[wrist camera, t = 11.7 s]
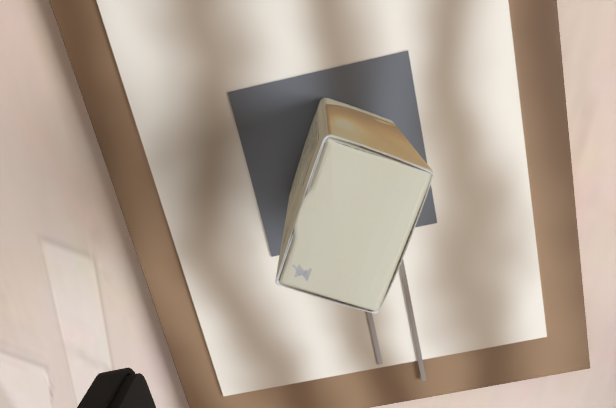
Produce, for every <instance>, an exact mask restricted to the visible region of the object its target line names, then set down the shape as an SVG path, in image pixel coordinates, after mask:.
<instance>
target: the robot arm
mask: <svg viewBox="0 0 616 408" xmlns="http://www.w3.org/2000/svg"><path fill="white" fill-rule="evenodd" d="M77 408H156V406H155V404H154V401H153V398H152V396H151V393H150V390H149V388H148V385H147V382H146V380H145V378H144V376H143V375H142V374H140V373H139V374H135V372H134V371H133V370H132V369H131V368H124V369H119V370H114V371H108V372H103V373H100V374H98V375H97V377H96V378H95V380H94V381H93V383H92V385H91V386H90V388H89V389H88V391H87V393H86V394H85V396H84V397H83V399H82V401H81V402H80V404H79V406H78V407H77Z"/></svg>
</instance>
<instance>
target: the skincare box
mask: <svg viewBox="0 0 616 408" xmlns="http://www.w3.org/2000/svg"><path fill="white" fill-rule="evenodd" d="M433 177H434V172H433V171H432V169H431V168H430V167H429V166H428V164H427V163H426V162H425V161H424V159H423V158H422V157H421V156H420V155H419V153H418V152H417V151H416V150H415V148H414V147H413V146H412V145H411V143H410V142H409V141H408V140H407V138H406V137H405V136H404V135H403V134H402V133H401V131H400V130H399V129H398V127H397V126H396V125H395V124H394V123H393V121H391V120H389V119H386V118H384V117H381V116H378V115H376V114H373V113H370V112H367V111H365V110H362V109H359V108H356V107H353V106H351V105H348V104H345V103H341V102H338V101H335V100H332V99H329V98H322V99H321V100H320V102H319V105H318V108H317V111H316V113H315V116H314V119H313V122H312V124H311V127H310V130H309V133H308V136H307V139H306V142H305V145H304V148H303V151H302V155H301V158H300V161H299V164H298V167H297V171H296V174H295V177H294V181H293V184H292V188H291V191H290V195H289V202H288V207H287V214H286V220H285V226H284V232H283V238H282V243H281V249H280V255H279V261H278V267H277V274H276V280H275V283H276V284H277V285H279V286H282V287H285V288H289V289H292V290H295V291H298V292H301V293H305V294H308V295H310V296H313V297H317V298H320V299H323V300H327V301H330V302H333V303H336V304H340V305H343V306H346V307H350V308H354V309H358V310H363V311H366V312H369V313H374V314H377V313H378V312H379V311H380V310H381V307H382V305H383V303H384V301H385V299H386V297H387V295H388V293H389V290H390V288H391V286H392V284H393V282H394V279H395V277H396V274H397V272H398V270H399V267H400V265H401V262H402V260H403V257H404V255H405V252H406V250H407V247H408V245H409V242H410V239H411V237H412V234H413V232H414V229H415V227H416V224H417V221H418V218H419V216H420V213H421V210H422V207H423V204H424V202H425V199H426V196H427V193H428V191H429V188H430V185H431V182H432V179H433Z"/></svg>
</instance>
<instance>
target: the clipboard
mask: <svg viewBox="0 0 616 408" xmlns="http://www.w3.org/2000/svg"><path fill="white" fill-rule="evenodd" d="M50 3H51V6H52V9H53V12H54V15H55V18H56V20H57V23H58V26H59V29H60V32H61V35H62V38H63V41H64V44H65V47H66V50H67V52H68V55H69V58H70V61H71V64H72V67H73V70H74V73H75V76H76V79H77V81H78V84H79V87H80V90H81V93H82V96H83V99H84V102H85V105H86V108H87V110H88V113H89V116H90V119H91V122H92V125H93V128H94V131H95V134H96V137H97V140H98V142H99V145H100V148H101V151H102V154H103V157H104V160H105V163H106V166H107V169H108V171H109V174H110V177H111V180H112V183H113V186H114V189H115V192H116V195H117V198H118V200H119V203H120V206H121V209H122V212H123V215H124V218H125V221H126V224H127V227H128V229H129V232H130V235H131V238H132V241H133V244H134V247H135V250H136V253H137V256H138V259H139V261H140V264H141V267H142V270H143V273H144V276H145V279H146V282H147V285H148V288H149V290H150V293H151V296H152V299H153V302H154V305H155V308H156V311H157V314H158V317H159V319H160V322H161V325H162V328H163V331H164V334H165V337H166V340H167V343H168V346H169V349H170V351H171V354H172V357H173V360H174V363H175V366H176V369H177V372H178V375H179V378H180V380H181V383H182V386H183V389H184V392H185V395H186V398H187V401H188V404H189V407H190V408H370V407H376V406H381V405H387V404H393V403H398V402H404V401H409V400H415V399H421V398H426V397H432V396H437V395H443V394H449V393H454V392H460V391H465V390H471V389H477V388H482V387H488V386H493V385H499V384H505V383H510V382H516V381H521V380H527V379H532V378H538V377H544V376H549V375H555V374H560V373H566V372H572V371H577V370H583V369H588V368H590V362H589V351H588V340H587V329H586V318H585V307H584V296H583V285H582V274H581V263H580V252H579V241H578V230H577V219H576V208H575V197H574V186H573V175H572V164H571V153H570V142H569V131H568V121H567V110H566V99H565V88H564V77H563V66H562V55H561V44H560V33H559V22H558V11H557V0H50ZM322 98H329V99H332V100H335V101H338V102H341V103H345V104H348V105H351V106H353V107H356V108H359V109H362V110H365V111H367V112H370V113H373V114H376V115H378V116H381V117H384V118H386V119H389V120H391V121H393V123H394V124H395V125H396V126H397V127H398V129H399V130H400V131H401V133H402V134H403V135H404V136H405V137H406V138H407V140H408V141H409V142H410V143H411V145H412V146H413V147H414V148H415V150H416V151H417V152H418V153H419V155H420V156H421V157H422V158H423V159H424V161H425V162H426V163H427V164H428V166H429V167H430V168H431V169H432V171H433V172H434V177H433V179H432V182H431V185H430V188H429V191H428V193H427V196H426V199H425V202H424V204H423V207H422V210H421V213H420V216H419V218H418V221H417V224H416V227H415V229H414V232H413V234H412V237H411V239H410V242H409V245H408V247H407V250H406V252H405V255H404V257H403V260H402V262H401V265H400V267H399V270H398V272H397V274H396V277H395V279H394V282H393V284H392V286H391V288H390V290H389V293H388V295H387V297H386V299H385V301H384V303H383V305H382V307H381V310H380V311H379V312H378V313H377V314H374V313H369V312H366V311H363V310H358V309H354V308H350V307H346V306H343V305H340V304H336V303H333V302H330V301H327V300H323V299H320V298H317V297H313V296H310V295H308V294H305V293H301V292H298V291H295V290H292V289H289V288H285V287H282V286H279V285H277V284H276V283H275V280H276V274H277V267H278V261H279V255H280V249H281V243H282V238H283V232H284V226H285V220H286V214H287V207H288V202H289V195H290V191H291V188H292V184H293V181H294V177H295V174H296V171H297V167H298V164H299V161H300V158H301V155H302V151H303V148H304V145H305V142H306V139H307V136H308V133H309V130H310V127H311V124H312V122H313V119H314V116H315V113H316V111H317V108H318V105H319V102H320V100H321V99H322Z"/></svg>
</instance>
